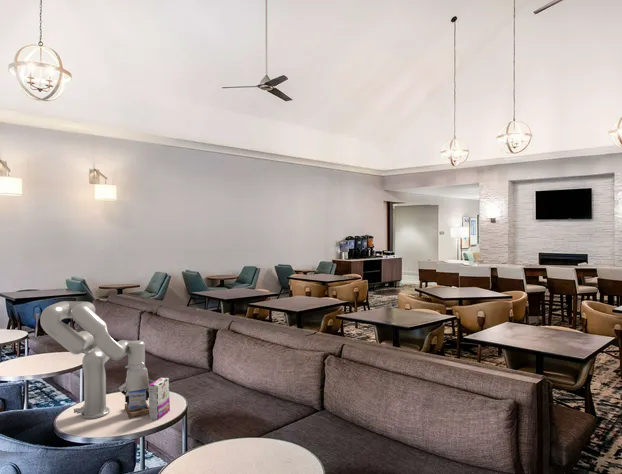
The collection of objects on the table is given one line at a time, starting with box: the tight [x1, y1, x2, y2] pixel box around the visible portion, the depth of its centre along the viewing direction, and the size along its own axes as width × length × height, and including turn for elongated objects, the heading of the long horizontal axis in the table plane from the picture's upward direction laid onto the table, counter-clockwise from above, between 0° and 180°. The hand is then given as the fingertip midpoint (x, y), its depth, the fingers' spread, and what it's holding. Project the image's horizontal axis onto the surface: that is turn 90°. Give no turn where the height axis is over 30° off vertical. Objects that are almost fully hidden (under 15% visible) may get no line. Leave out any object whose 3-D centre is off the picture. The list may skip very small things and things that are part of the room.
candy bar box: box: [148, 377, 171, 421], centre depth 219 cm, size 11×5×16 cm, turn 168°
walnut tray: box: [124, 402, 149, 420], centre depth 223 cm, size 10×14×2 cm
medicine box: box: [128, 389, 147, 409], centre depth 223 cm, size 8×4×9 cm, turn 115°
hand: (137, 401), depth 223 cm, fingers closed on medicine box, 8 cm apart
